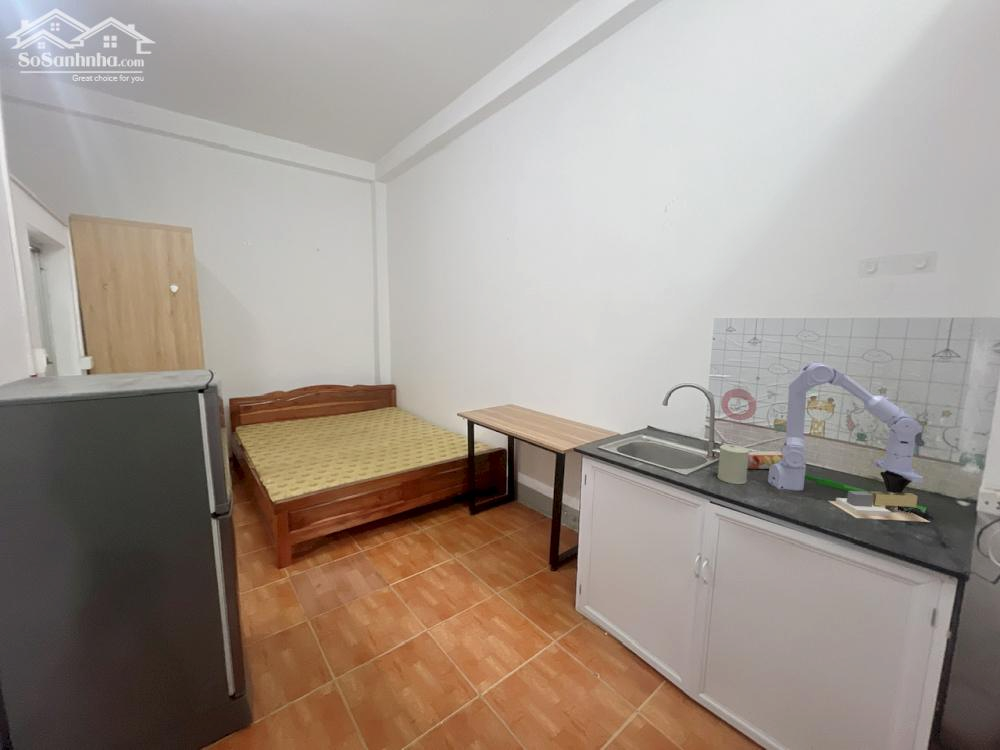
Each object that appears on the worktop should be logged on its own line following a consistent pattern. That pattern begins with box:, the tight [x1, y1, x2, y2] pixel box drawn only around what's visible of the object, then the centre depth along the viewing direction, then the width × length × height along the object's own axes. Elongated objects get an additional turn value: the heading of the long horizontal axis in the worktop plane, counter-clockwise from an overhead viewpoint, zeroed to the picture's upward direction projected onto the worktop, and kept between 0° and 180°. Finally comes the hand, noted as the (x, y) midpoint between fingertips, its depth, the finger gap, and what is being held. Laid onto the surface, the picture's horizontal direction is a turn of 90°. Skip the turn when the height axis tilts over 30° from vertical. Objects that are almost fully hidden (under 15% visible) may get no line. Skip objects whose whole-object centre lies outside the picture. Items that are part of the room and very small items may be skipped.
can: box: [717, 444, 750, 485], centre depth 141 cm, size 9×9×12 cm
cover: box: [835, 491, 891, 517], centre depth 115 cm, size 9×8×5 cm
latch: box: [870, 490, 918, 508], centre depth 114 cm, size 11×2×4 cm, turn 84°
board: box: [828, 500, 931, 523], centre depth 115 cm, size 19×11×3 cm, turn 84°
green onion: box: [804, 474, 927, 512], centre depth 127 cm, size 5×3×30 cm
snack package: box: [747, 450, 783, 470], centre depth 154 cm, size 21×7×7 cm, turn 88°
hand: (893, 497), depth 119 cm, fingers closed
